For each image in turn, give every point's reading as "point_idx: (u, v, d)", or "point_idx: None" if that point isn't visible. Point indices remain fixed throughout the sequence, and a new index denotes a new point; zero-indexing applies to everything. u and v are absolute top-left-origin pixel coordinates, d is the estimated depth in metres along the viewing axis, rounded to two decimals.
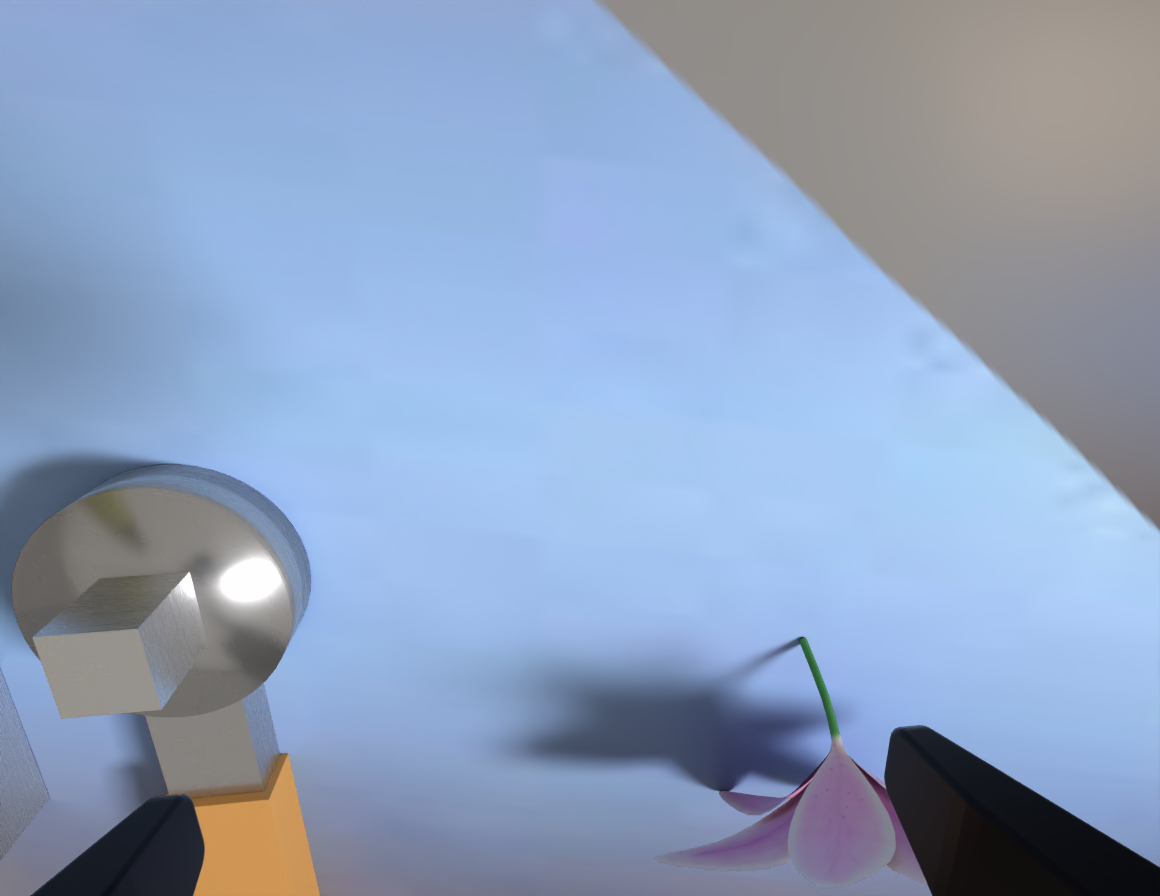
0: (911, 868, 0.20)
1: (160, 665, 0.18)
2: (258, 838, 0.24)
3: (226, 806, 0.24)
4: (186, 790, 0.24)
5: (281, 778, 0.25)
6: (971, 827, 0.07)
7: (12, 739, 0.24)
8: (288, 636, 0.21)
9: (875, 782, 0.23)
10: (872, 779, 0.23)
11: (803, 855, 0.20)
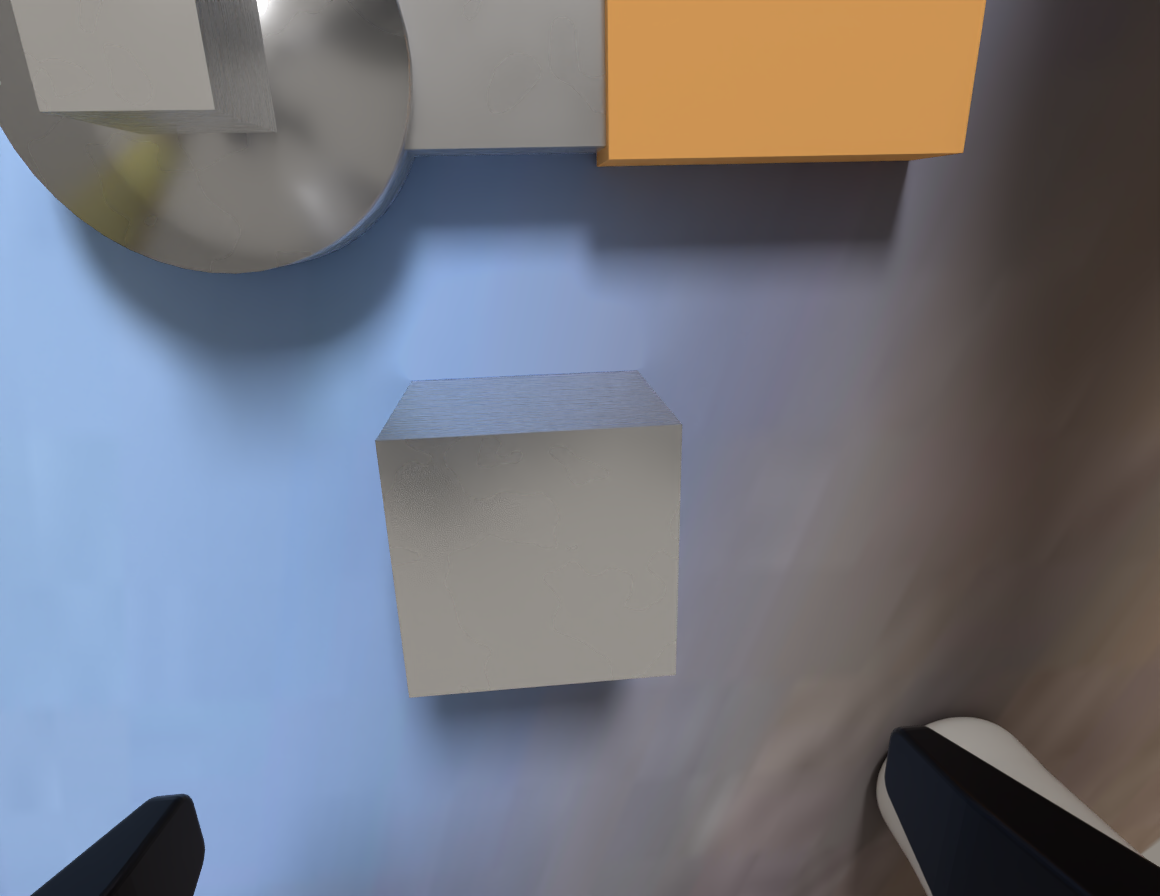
0: None
1: None
2: None
3: (613, 35, 0.14)
4: (588, 115, 0.14)
5: None
6: (971, 827, 0.07)
7: (514, 380, 0.17)
8: None
9: None
10: None
11: None
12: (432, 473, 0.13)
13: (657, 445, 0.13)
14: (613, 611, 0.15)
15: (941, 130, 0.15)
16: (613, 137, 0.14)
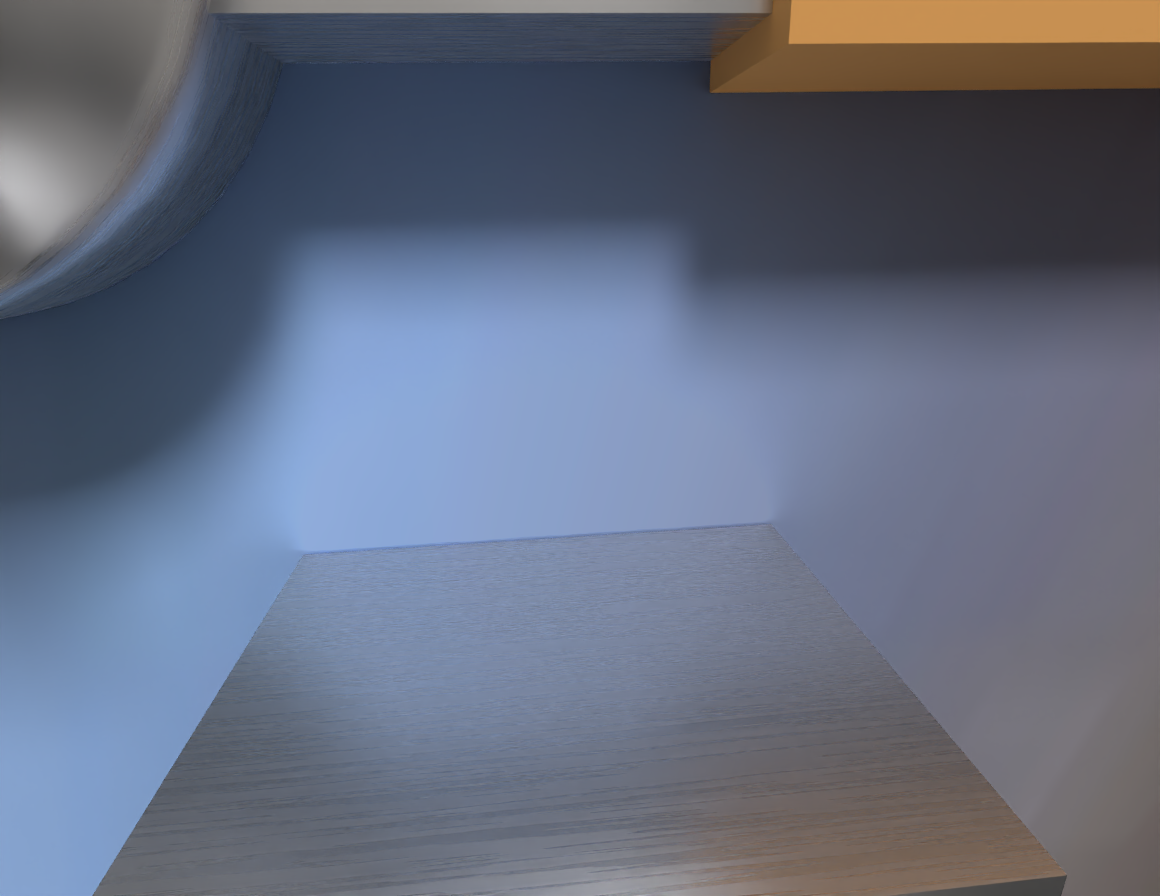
0: None
1: None
2: None
3: None
4: None
5: None
6: None
7: (520, 561, 0.08)
8: None
9: None
10: None
11: None
12: None
13: None
14: None
15: None
16: None
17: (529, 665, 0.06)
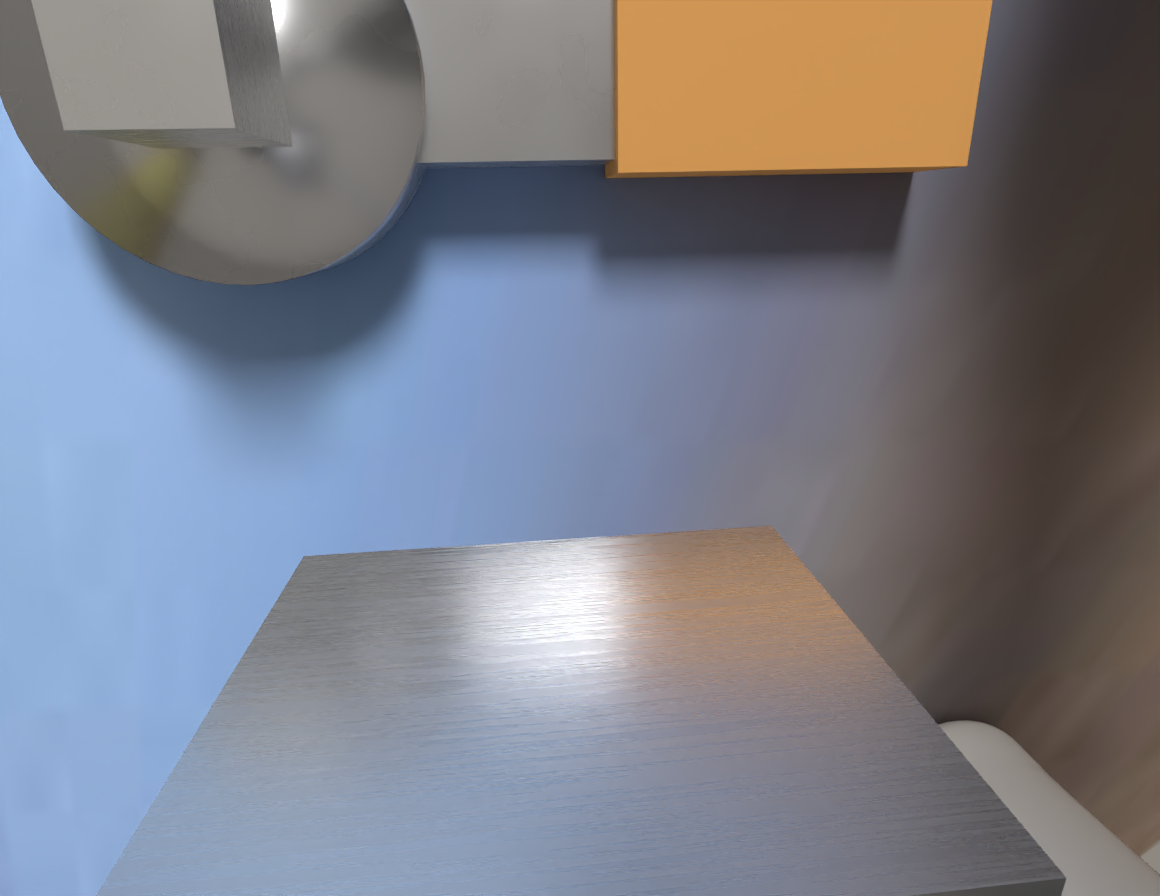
0: None
1: None
2: (701, 6, 0.14)
3: (623, 51, 0.14)
4: (598, 129, 0.15)
5: None
6: None
7: (521, 562, 0.08)
8: None
9: None
10: None
11: None
12: None
13: None
14: None
15: (945, 144, 0.15)
16: (622, 151, 0.14)
17: (530, 667, 0.06)
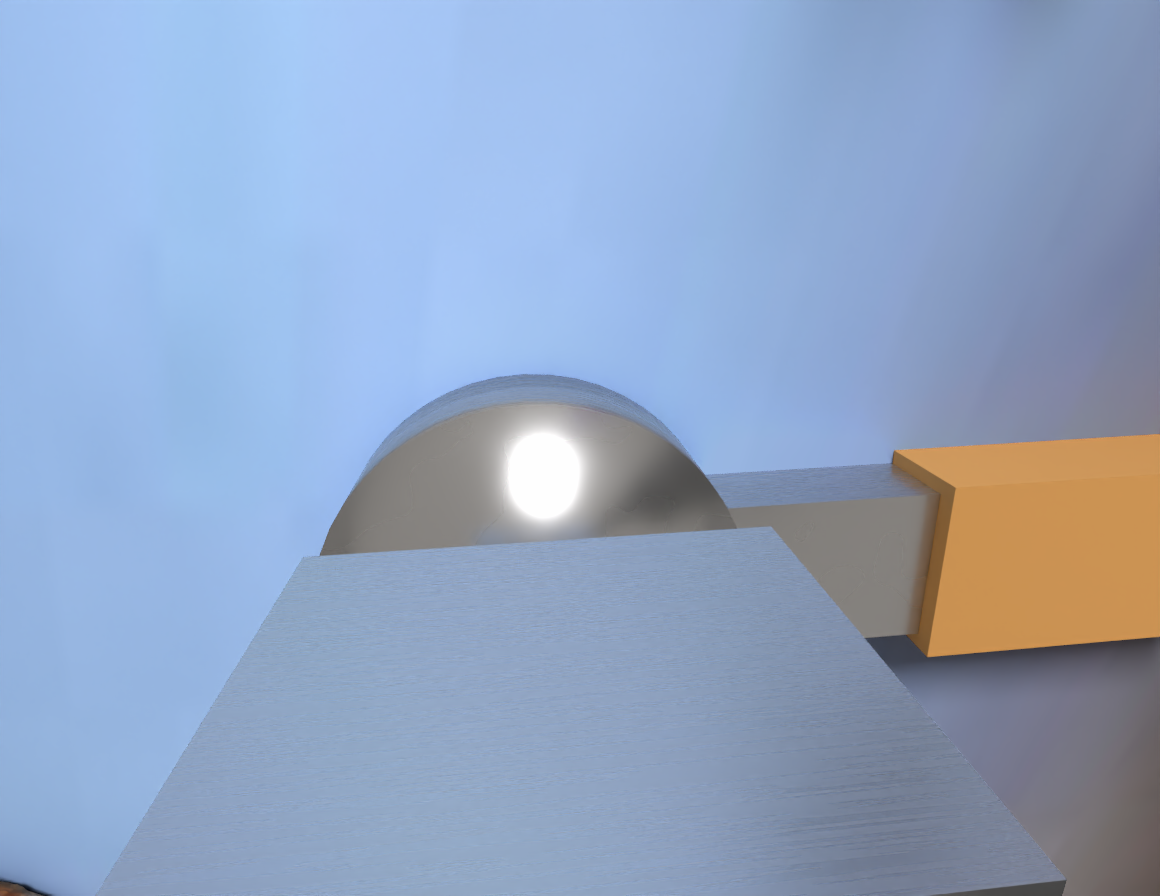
0: None
1: None
2: (1035, 514, 0.13)
3: (949, 557, 0.13)
4: (904, 610, 0.14)
5: (932, 464, 0.14)
6: None
7: (520, 563, 0.08)
8: (604, 414, 0.11)
9: None
10: None
11: None
12: None
13: None
14: None
15: None
16: (934, 638, 0.14)
17: (529, 668, 0.06)
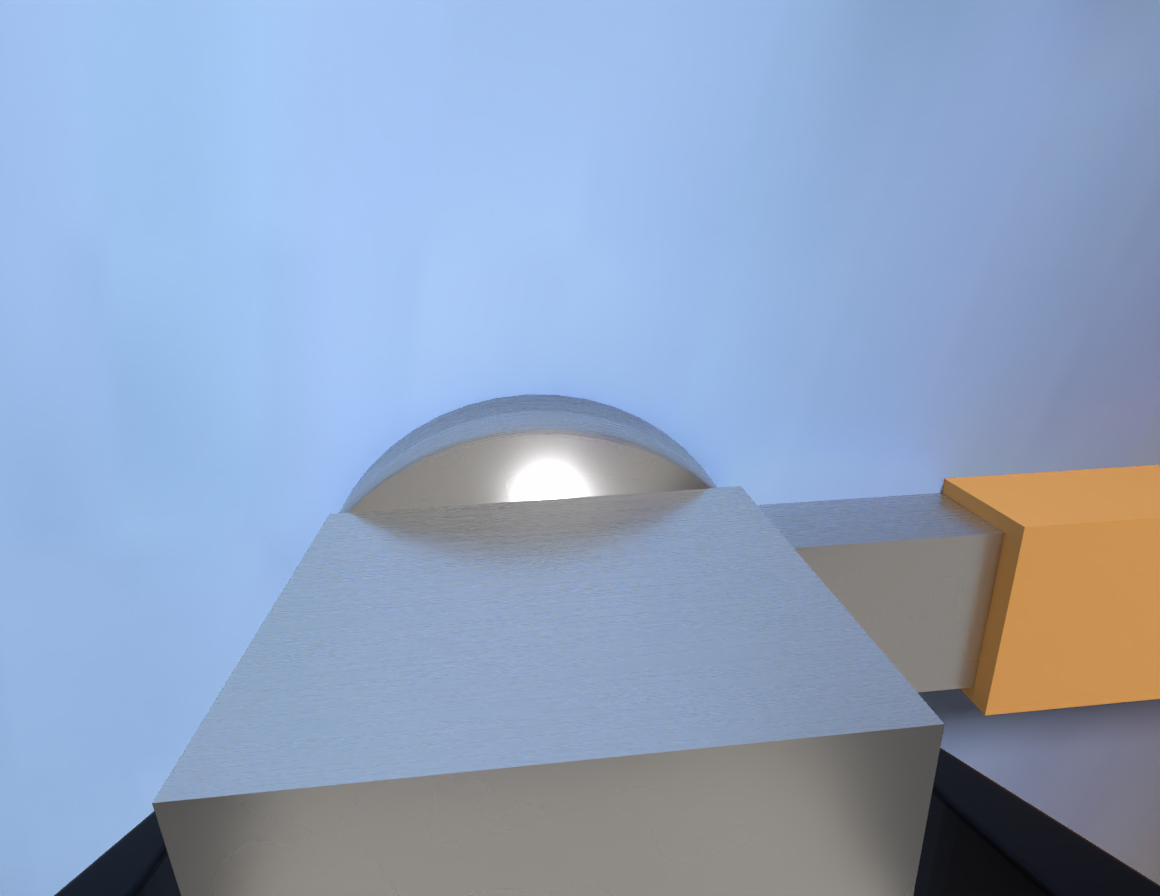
0: None
1: None
2: (1113, 556, 0.11)
3: (1015, 606, 0.11)
4: (959, 661, 0.12)
5: (991, 497, 0.12)
6: (949, 829, 0.07)
7: (519, 516, 0.09)
8: (622, 446, 0.10)
9: None
10: None
11: None
12: (313, 863, 0.05)
13: (879, 771, 0.05)
14: None
15: None
16: (993, 694, 0.12)
17: (527, 593, 0.07)
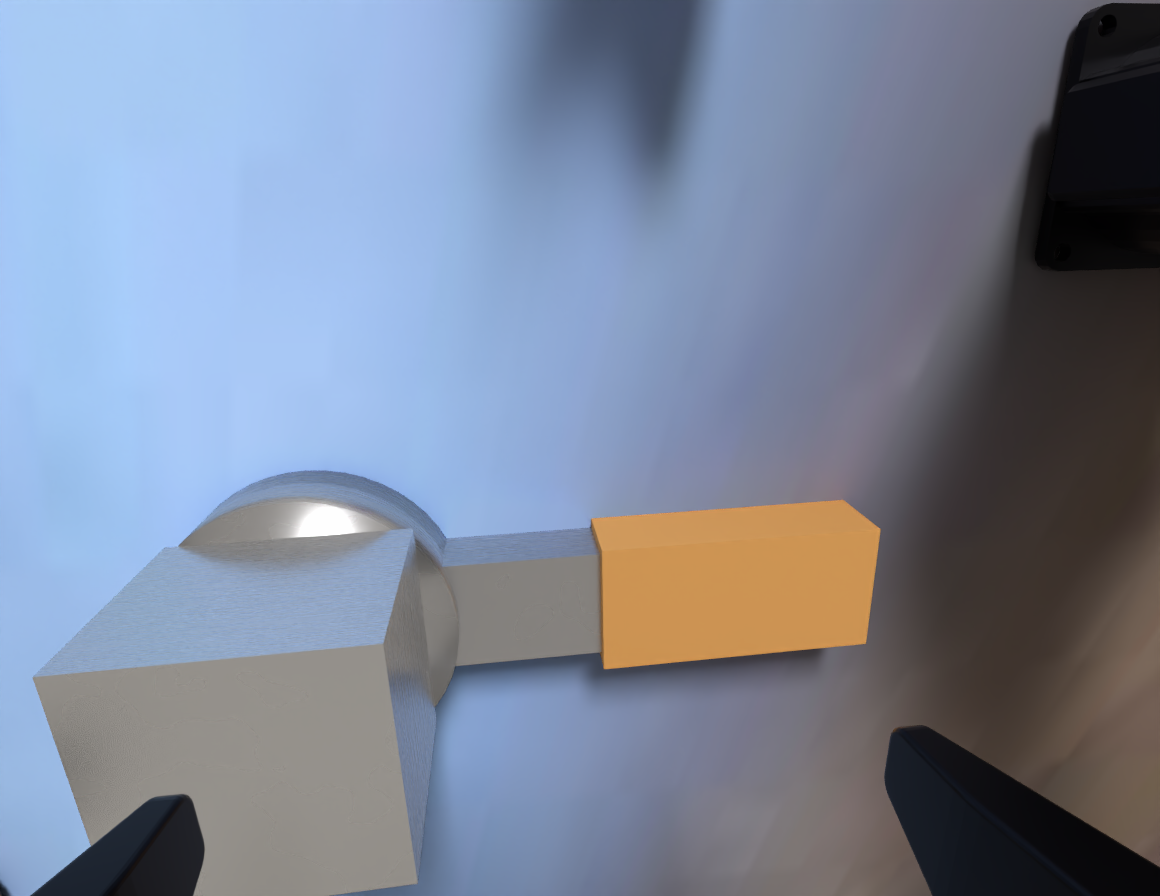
0: None
1: None
2: (664, 568, 0.19)
3: (606, 599, 0.19)
4: (588, 635, 0.19)
5: (605, 531, 0.19)
6: (971, 827, 0.07)
7: (271, 548, 0.16)
8: (337, 507, 0.17)
9: None
10: None
11: None
12: (105, 705, 0.12)
13: (359, 665, 0.12)
14: (337, 827, 0.14)
15: (848, 632, 0.20)
16: (607, 655, 0.19)
17: (246, 591, 0.14)
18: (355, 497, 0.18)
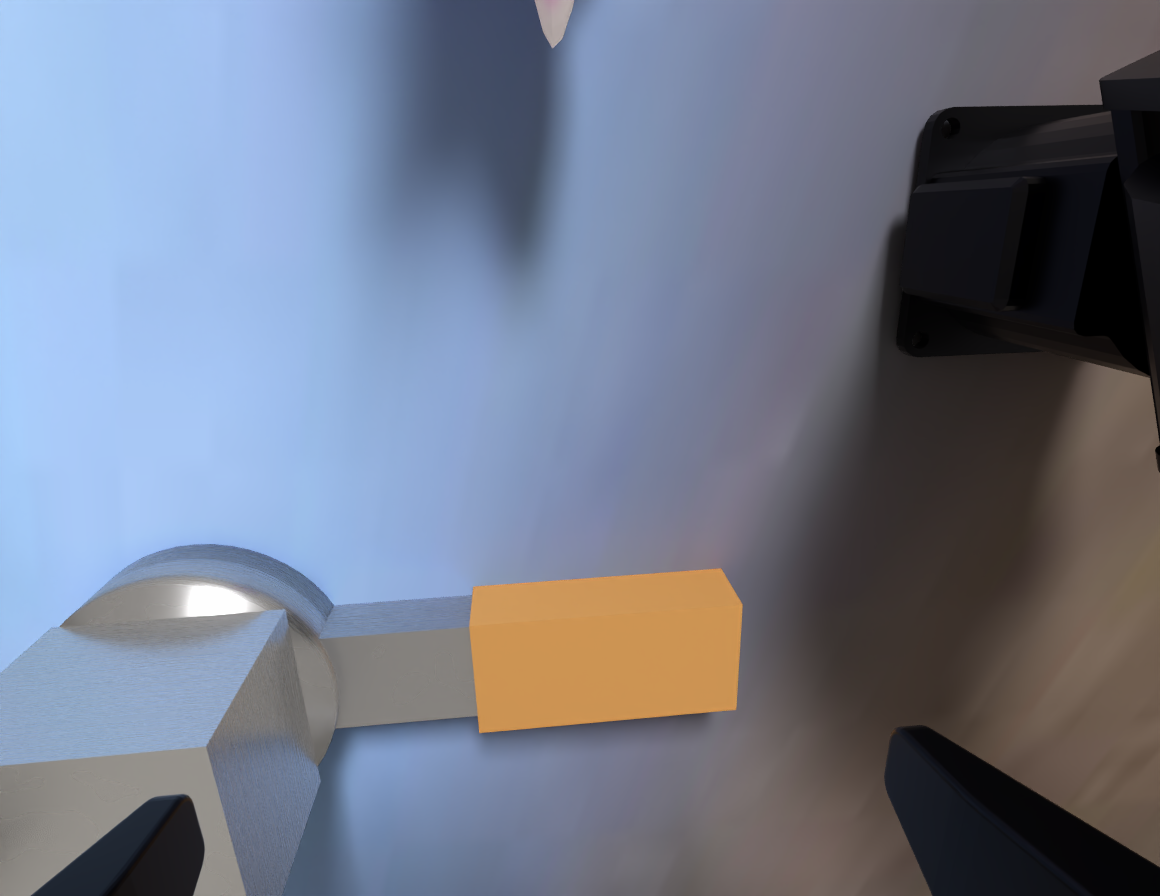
0: None
1: None
2: (531, 641, 0.19)
3: (477, 669, 0.20)
4: (465, 700, 0.20)
5: (481, 602, 0.20)
6: (971, 827, 0.07)
7: (147, 631, 0.17)
8: (210, 589, 0.18)
9: None
10: None
11: None
12: None
13: (185, 765, 0.14)
14: None
15: (718, 699, 0.21)
16: (481, 720, 0.20)
17: (106, 681, 0.16)
18: (233, 575, 0.19)
